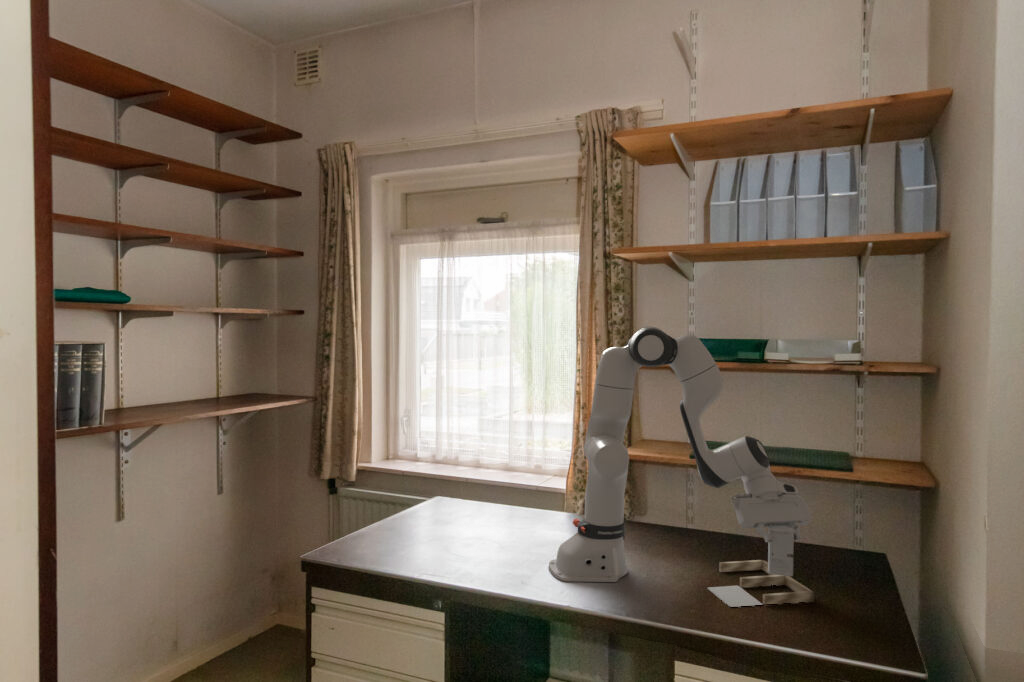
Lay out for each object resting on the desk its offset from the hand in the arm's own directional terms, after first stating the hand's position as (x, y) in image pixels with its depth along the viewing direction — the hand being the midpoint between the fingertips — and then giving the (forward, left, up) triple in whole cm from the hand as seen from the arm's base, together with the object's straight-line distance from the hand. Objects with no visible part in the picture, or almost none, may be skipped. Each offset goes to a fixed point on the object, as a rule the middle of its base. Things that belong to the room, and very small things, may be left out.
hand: (784, 540), depth 174 cm
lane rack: (-1, +6, -15) cm, 16 cm away
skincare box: (0, +1, -9) cm, 9 cm away
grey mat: (-13, +1, -15) cm, 20 cm away
